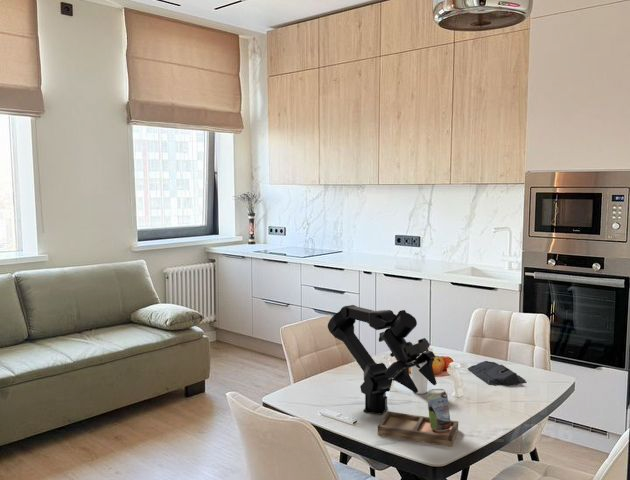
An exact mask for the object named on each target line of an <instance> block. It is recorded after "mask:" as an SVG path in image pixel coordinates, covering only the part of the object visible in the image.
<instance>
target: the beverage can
mask: <svg viewBox="0 0 630 480" xmlns="http://www.w3.org/2000/svg"><path fill="white" fill-rule="evenodd" d="M448 399H449V398H448V393H447V392H446V390H445V389H443V388H432V389H429V390H427V394H426V400H427V401H426V402H427V409H428V417H429V418H430V427H431V428H432V429H433V430H434V431H446V430H448V429H449V428H450V427H451V422H450V420H451V414H450V407H449V400H448Z"/></svg>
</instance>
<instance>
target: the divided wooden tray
mask: <svg viewBox="0 0 630 480" xmlns="http://www.w3.org/2000/svg"><path fill="white" fill-rule="evenodd" d="M450 422H451V427H450V428H449V429H448V430H446V431H434V430H433V429H432V428H431V427H430V418H429V416H423V415H422V416H421V415H415V414H409V413H403V412H394V411H387V412H386V413H385V415H384V417H383V418H382V419H381V420H380V422H379V423H378V425H377V435H378V436H383V435H384V436H385V437H391V438H395V439H396V438H397V439H402V440H403V439H404V440H408V441H409V440H410V441H413V442H414V441H415V442H422V443H425V444H427V443H428V444H434V445H439V446H445V447H446V446H447V447H453V444H454V441H455V440H456V437H457V434H458V431H459V421H456V420H451V419H450Z"/></svg>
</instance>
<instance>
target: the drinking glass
mask: <svg viewBox="0 0 630 480" xmlns="http://www.w3.org/2000/svg"><path fill="white" fill-rule="evenodd" d="M425 352H426V351H425ZM423 353H424V352H423ZM421 354H422V353H421ZM421 354H420V355H421ZM420 355H419V356H420ZM419 356H418V357H419ZM418 357H417V358H418ZM412 364H413V363H412ZM419 369H420V368H418V367H416V366H413V367H410V377H411V379H412V380H413V382H414V384H415V385H416V387H417V389H418V392H417V393H415V392H413V393H414V394H418V395H422V394H423V395H424V394H426V393H428V382H429V381H428V380H427V379H426V378H425V377H424V376H423V374H421V373H420V372H419Z"/></svg>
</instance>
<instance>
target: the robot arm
mask: <svg viewBox="0 0 630 480" xmlns="http://www.w3.org/2000/svg"><path fill="white" fill-rule="evenodd" d="M356 320H357V321H359V322H363V323H366V324H368V326H369V327H370V328H372V329H374V330H376V331H380V330H381V331H382V330H385V331H382V332H379V337H378V342H379V343H380V342H381V343H382V342H384V343H385V345H386V346H387V347H388V349H389V350H390V352H391V353H389V356H390V357H391V358H395V360H396V361H394V362H393V363H392V364H390V365H389V366H388V367H387V366H386V364H385V363H383V362H380V363H377V362H376V361H375V360H374V359H373V357H372V355H370V353H369V351H368V350H367V349H366V348H365V346H364V345H363V343H362V342H361V341H360V339H359V338H358V336H357V335H356V333H355V323H356ZM417 325H418V322H417V319H416V317H415V316H413V315H412V314H410V313H408V312H407V311H406V309H401V310H399V311H398V312H397V314H395V313H394V311H393V310H391V309H382V310H373V309H369V308H365V307H364V308H363V307H361V306H357V305H354V304H349V305H344V306H342V308H341V309H340V310H339V311H338V312H336V313H335V314H334V315H333V316H331V318H330V319H329V321H328V323H327V329H328V331H329V333H330V334H331V335H332V336H333V337H334V338H335V339H337V340H339V341H341V342H342V343H343V345H345V347H346V349H347V350H348V351H349V353H350V354H351V356H352V358H353V359H354V360H355V361H356V363H357V365H359V367H360V369H361V370H362V371H363V382H362V383H361V385H360V386H359V387H360V392H361V393H362V394H364V398H365V399H364V400H365V401H364V402H365V404H364V405H365V406H364V409H363V412H364V413H371V414H378V415H383V414H384V413H385V412H386V411H387V409H388V396H387V392H390V391H391V387H392V383H393V382H394V381H395V382H397V383H398V384H400V385H403V387H405V388H407V389H408V390H410V391H411V392H413V393H414V392H415V393H414V394H417V392H418V389H417V387H416V385H415V384H414V382H413V380H412V378H411V374H410V369H411V367H413V366H416V367H418V368H420V369H419V372H420V373H421V374H423V376H424V377H425V378H426V379H427V380H428V381H427V382H429V383H430V384H431V385H433V386H436V385H437V379H436V376H435V373H434V369H433V364H434V361H435V359H436V354H435V353H434V351H432V350H429V348H430V343H429V341H428V340H427V339H426V338H425V337H424V338H420V339H418V340H417V343H416V344H415V343H412V342H411V341H406V339H405V338H407V337H408V336H409V335H410V333H412V332H413V330H414V329H415V328H416V327H417ZM425 351H426V352H425ZM423 352H424V353H423ZM421 353H422V354H421ZM420 354H421V355H420ZM419 355H420V356H419ZM418 356H419V357H418ZM417 357H418V358H417ZM412 363H413V364H412Z"/></svg>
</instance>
